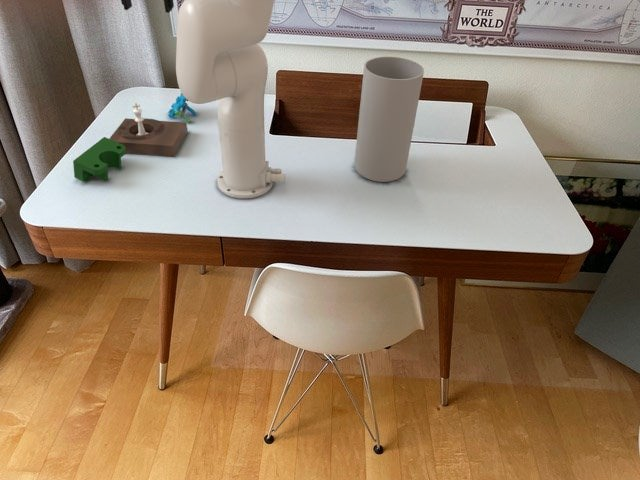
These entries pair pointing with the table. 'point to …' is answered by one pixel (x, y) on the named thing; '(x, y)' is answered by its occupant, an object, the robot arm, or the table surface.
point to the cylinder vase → (387, 117)
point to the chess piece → (139, 119)
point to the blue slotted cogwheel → (178, 105)
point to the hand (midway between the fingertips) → (148, 9)
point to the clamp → (98, 160)
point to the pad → (151, 137)
